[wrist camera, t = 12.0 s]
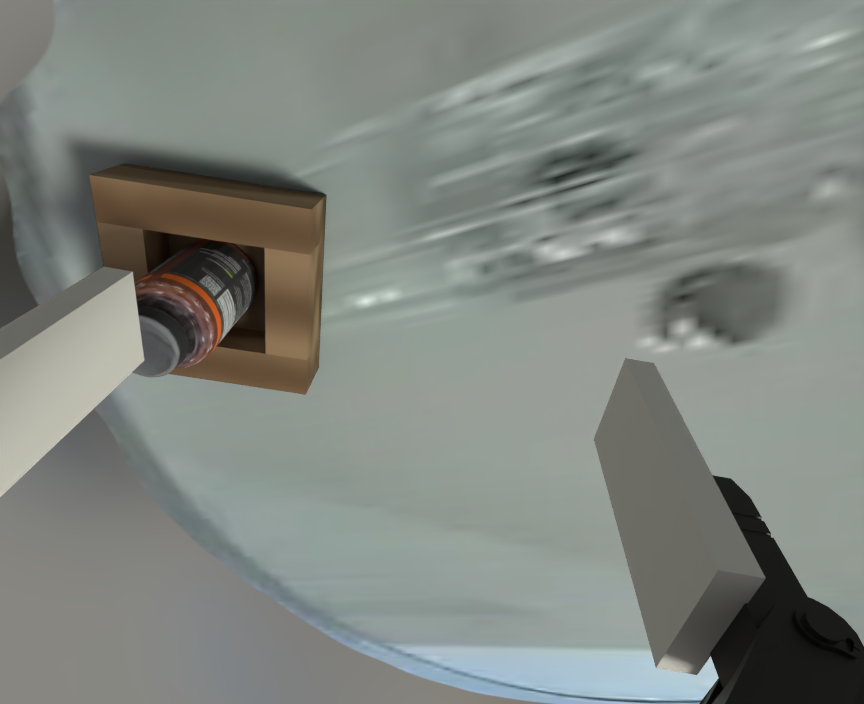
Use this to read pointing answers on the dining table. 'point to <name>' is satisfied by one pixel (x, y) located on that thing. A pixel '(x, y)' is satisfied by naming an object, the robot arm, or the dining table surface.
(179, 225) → the holder block
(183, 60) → the dining table surface
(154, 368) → the supplement bottle
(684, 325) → the dining table surface
